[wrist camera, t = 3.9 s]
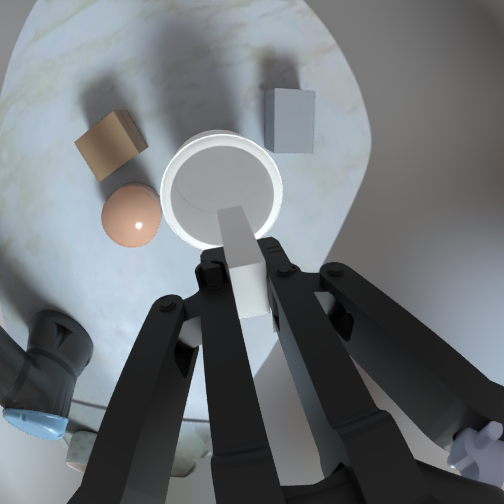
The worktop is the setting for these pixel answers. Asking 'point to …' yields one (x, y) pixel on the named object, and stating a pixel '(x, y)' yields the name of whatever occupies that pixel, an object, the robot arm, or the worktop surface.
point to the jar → (219, 187)
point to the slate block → (289, 120)
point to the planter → (80, 450)
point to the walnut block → (110, 144)
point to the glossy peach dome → (132, 214)
